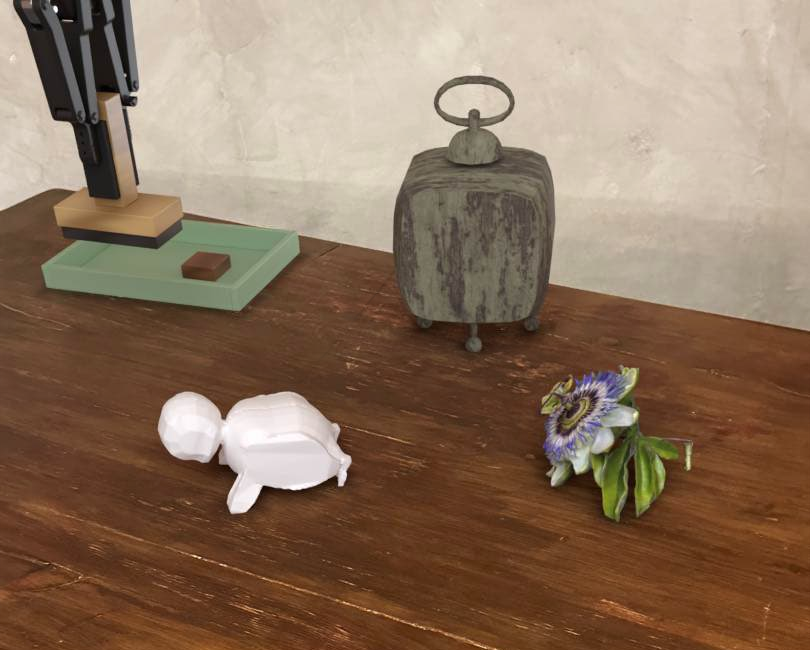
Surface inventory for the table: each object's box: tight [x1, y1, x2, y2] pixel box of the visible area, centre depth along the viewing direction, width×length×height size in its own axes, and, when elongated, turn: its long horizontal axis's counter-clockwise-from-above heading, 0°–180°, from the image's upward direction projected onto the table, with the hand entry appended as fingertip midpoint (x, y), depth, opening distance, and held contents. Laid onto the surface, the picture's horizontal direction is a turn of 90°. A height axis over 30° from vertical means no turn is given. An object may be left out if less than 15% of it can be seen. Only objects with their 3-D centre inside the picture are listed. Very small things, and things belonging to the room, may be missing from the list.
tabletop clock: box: [392, 75, 556, 354], centre depth 103 cm, size 14×9×25 cm, turn 82°
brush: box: [53, 92, 185, 249], centre depth 97 cm, size 10×5×12 cm, turn 70°
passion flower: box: [536, 364, 695, 523], centre depth 88 cm, size 11×11×12 cm
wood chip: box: [181, 251, 231, 282], centre depth 124 cm, size 4×4×2 cm
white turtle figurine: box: [157, 391, 352, 515], centre depth 90 cm, size 9×8×15 cm
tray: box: [40, 219, 301, 312], centre depth 125 cm, size 24×16×3 cm, turn 71°
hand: (114, 190), depth 99 cm, fingers closed on brush, 2 cm apart
